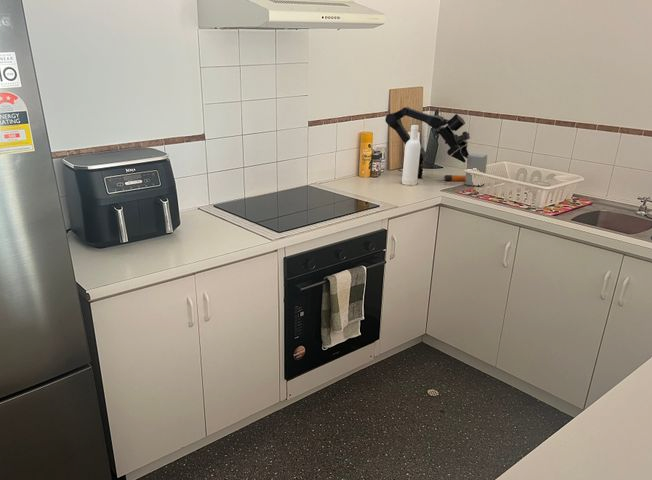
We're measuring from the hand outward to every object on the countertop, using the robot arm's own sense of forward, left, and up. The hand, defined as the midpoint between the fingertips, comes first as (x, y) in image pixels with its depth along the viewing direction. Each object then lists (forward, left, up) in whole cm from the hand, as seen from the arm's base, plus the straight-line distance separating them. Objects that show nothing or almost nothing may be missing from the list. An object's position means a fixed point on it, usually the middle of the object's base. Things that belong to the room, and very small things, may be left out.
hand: (467, 160), depth 287 cm
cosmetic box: (+4, -3, -12) cm, 13 cm away
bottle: (-29, -1, -12) cm, 32 cm away
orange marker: (-1, +6, -12) cm, 14 cm away
